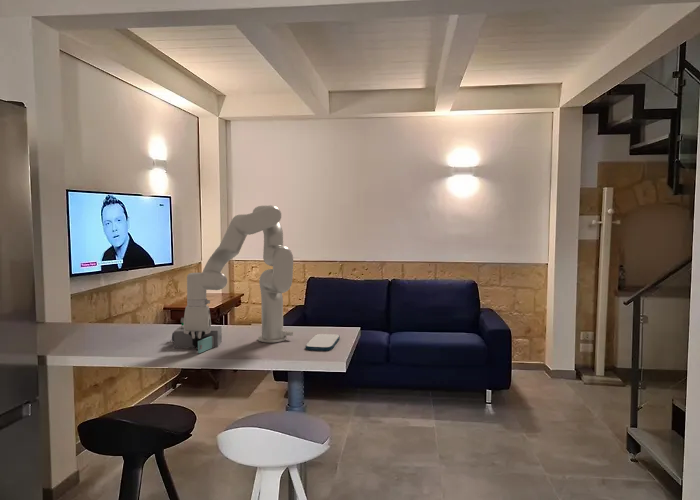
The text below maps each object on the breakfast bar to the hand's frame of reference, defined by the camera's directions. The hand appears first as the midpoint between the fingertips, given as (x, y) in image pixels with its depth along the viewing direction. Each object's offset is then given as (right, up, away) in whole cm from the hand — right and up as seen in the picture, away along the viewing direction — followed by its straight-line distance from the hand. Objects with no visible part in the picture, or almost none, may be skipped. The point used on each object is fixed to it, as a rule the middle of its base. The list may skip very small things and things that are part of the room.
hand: (197, 347), depth 205 cm
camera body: (-3, -1, +11) cm, 11 cm away
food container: (-9, 0, +24) cm, 26 cm away
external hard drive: (+51, -2, +13) cm, 52 cm away
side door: (+3, -1, +1) cm, 4 cm away
